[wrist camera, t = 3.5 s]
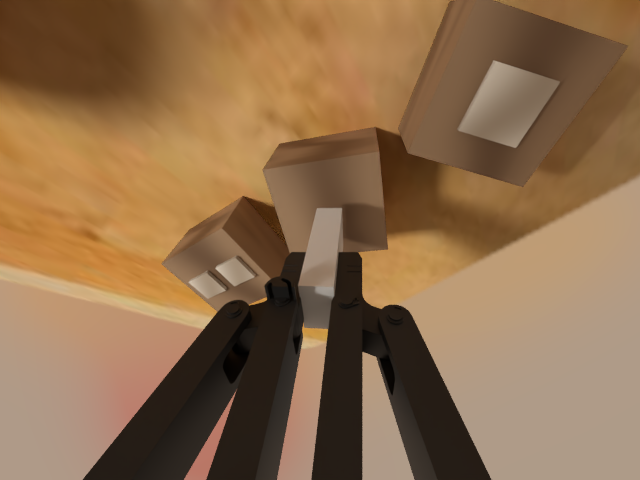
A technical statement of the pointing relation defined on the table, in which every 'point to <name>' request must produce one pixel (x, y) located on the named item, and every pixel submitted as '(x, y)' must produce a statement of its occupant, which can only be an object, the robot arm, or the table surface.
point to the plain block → (330, 188)
